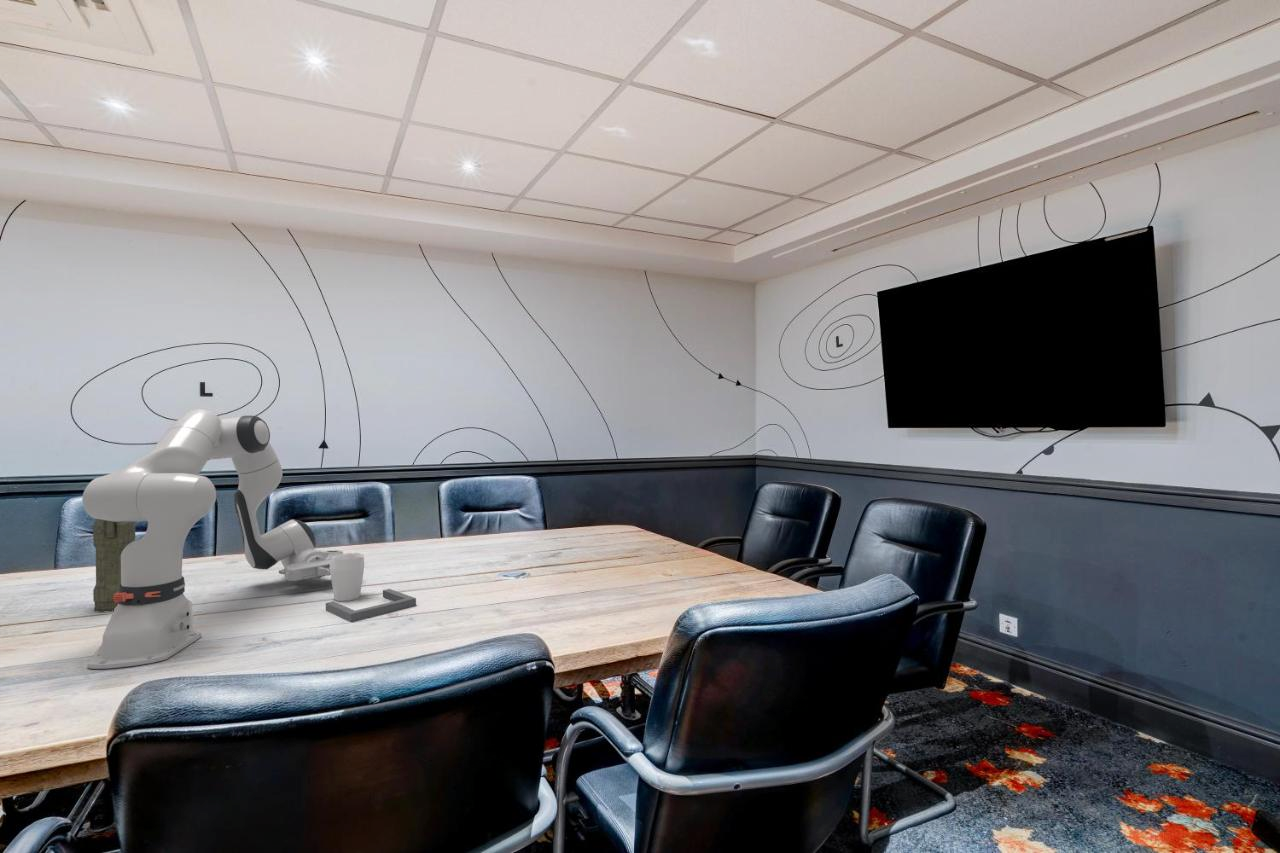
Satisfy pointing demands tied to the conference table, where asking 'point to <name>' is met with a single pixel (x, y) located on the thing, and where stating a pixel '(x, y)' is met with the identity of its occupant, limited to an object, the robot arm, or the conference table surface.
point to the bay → (398, 603)
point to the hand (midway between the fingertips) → (332, 572)
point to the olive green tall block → (109, 559)
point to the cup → (347, 575)
